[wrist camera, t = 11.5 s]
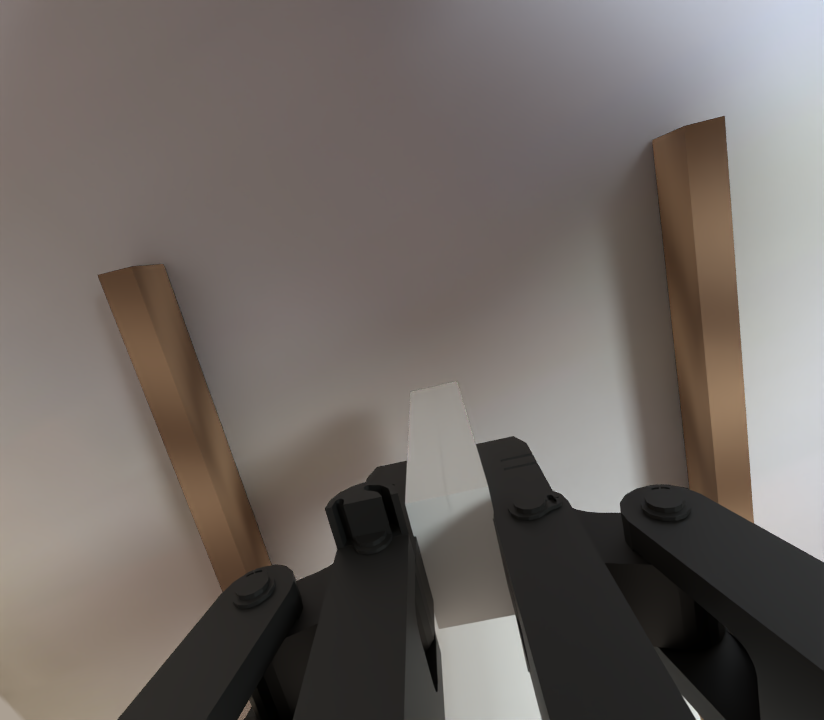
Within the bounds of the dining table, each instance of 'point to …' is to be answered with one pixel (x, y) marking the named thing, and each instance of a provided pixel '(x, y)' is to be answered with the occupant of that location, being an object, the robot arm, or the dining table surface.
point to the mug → (488, 672)
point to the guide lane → (692, 333)
